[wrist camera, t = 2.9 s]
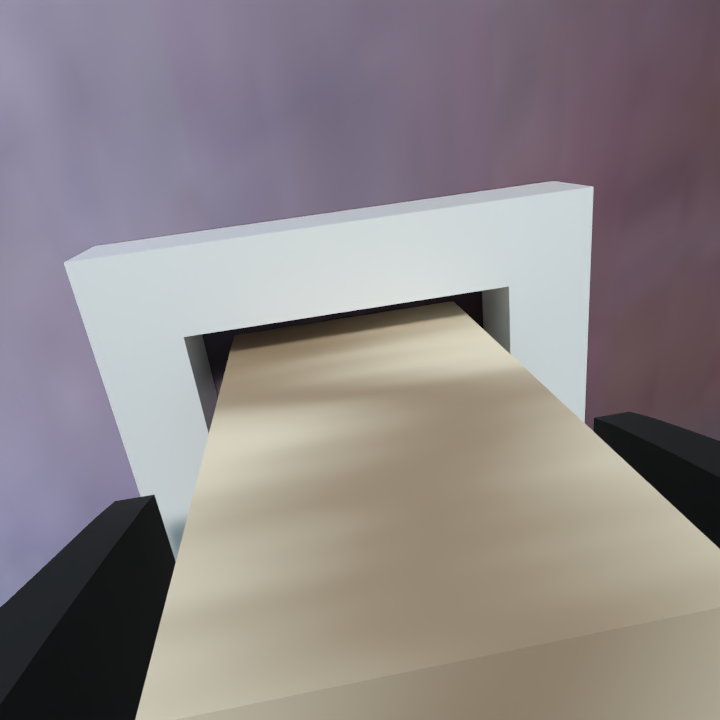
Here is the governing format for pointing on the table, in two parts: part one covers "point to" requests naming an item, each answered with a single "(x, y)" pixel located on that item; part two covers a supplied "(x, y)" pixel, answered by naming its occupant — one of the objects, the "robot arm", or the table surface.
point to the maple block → (424, 545)
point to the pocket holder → (325, 303)
